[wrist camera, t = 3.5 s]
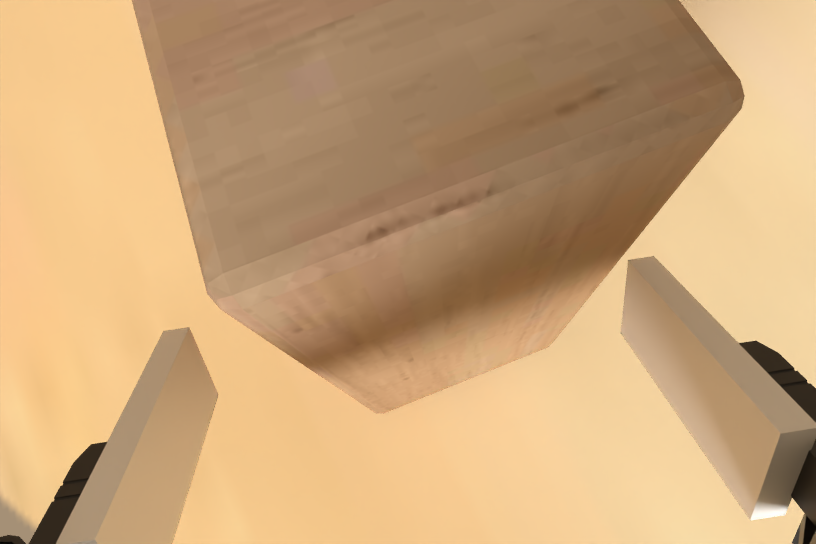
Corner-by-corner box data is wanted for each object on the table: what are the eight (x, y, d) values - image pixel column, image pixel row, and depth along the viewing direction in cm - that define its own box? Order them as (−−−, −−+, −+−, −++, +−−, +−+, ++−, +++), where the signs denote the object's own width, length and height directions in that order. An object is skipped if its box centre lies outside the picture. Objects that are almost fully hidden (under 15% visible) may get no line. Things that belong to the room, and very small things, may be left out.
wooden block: (317, 250, 31) (101, -90, 12) (477, 189, 31) (514, -231, 12) (375, 418, 27) (200, 312, 8) (555, 345, 28) (770, 93, 9)
